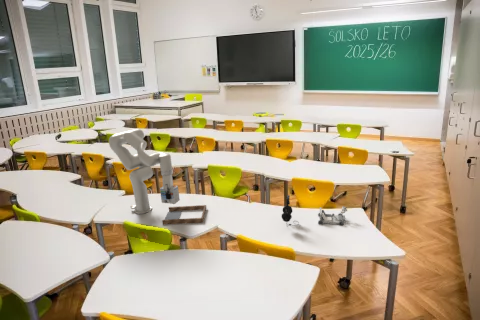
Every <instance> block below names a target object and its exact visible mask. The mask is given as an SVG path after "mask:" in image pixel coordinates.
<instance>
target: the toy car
mask: <svg viewBox="0 0 480 320" xmlns="http://www.w3.org/2000/svg"><path fill="white" fill-rule="evenodd" d="M346 212H348V207H347V206H344V205H343V206H342V208H341V210H340V213H338V214H335V213H332V214H331V213H326V212H325V210H324V209H322V207H319V212H318V214H317V215H318V217H319V220H318V222H317V224H318V225H323V224H330V225H331V224H333V225H334V224H335V225H336V224H337V225H339V226H344V225H345V223H344V222H346V215H345V213H346ZM343 214H344V215H343Z"/></svg>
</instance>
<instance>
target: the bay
mask: <svg viewBox="0 0 480 320" xmlns="http://www.w3.org/2000/svg"><path fill="white" fill-rule="evenodd" d="M187 211H202V214H201V217H193V218H192V217H191V218H190V217H188V218H181V216H182V215H181V214H182V213H183V212H187ZM206 212H207V204H202V205H183V206H182V205H181V206H169V207H168V212H167V213H166V215H165V218H164V219H162V220H161V221H162V225H180V224H181V225H182V224H202V223H204V222H205V216H206V214H207V213H206Z"/></svg>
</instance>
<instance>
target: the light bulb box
mask: <svg viewBox="0 0 480 320" xmlns="http://www.w3.org/2000/svg"><path fill="white" fill-rule="evenodd" d="M168 189H169V188H168ZM159 190H160V191H159V193H160V198H161V199H160V200H161V203H162V204H170V205H172V204H173V205H175V204H177V203H178V202H179V201H180V200H181V199H180V192H179V186H178V185H173V186H172V188H171V189H170V193H171V199H166V193H165V190H163V186H162V187H160V188H159ZM168 191H169V190H168Z"/></svg>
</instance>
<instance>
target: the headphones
mask: <svg viewBox="0 0 480 320" xmlns="http://www.w3.org/2000/svg"><path fill="white" fill-rule="evenodd" d="M285 197H286V198H285V199H286V200H285V201H286V205H284V206H283V208H282V212H283V213H282V214H281V219H282V221H283V222H285V224H286V227H289V226H291V225H292V224H291V223H288V222H290V221H291V219H292V217H293V216H292V213H293V208H292V206H290V205H291V201H290V195H288V194H287V195H286V196H285ZM294 222H295V220H294V221H293V226H298V225H299V228H300V226H301V224H299V221H297V220H296V222H298V223H297V224H295V223H294Z"/></svg>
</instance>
